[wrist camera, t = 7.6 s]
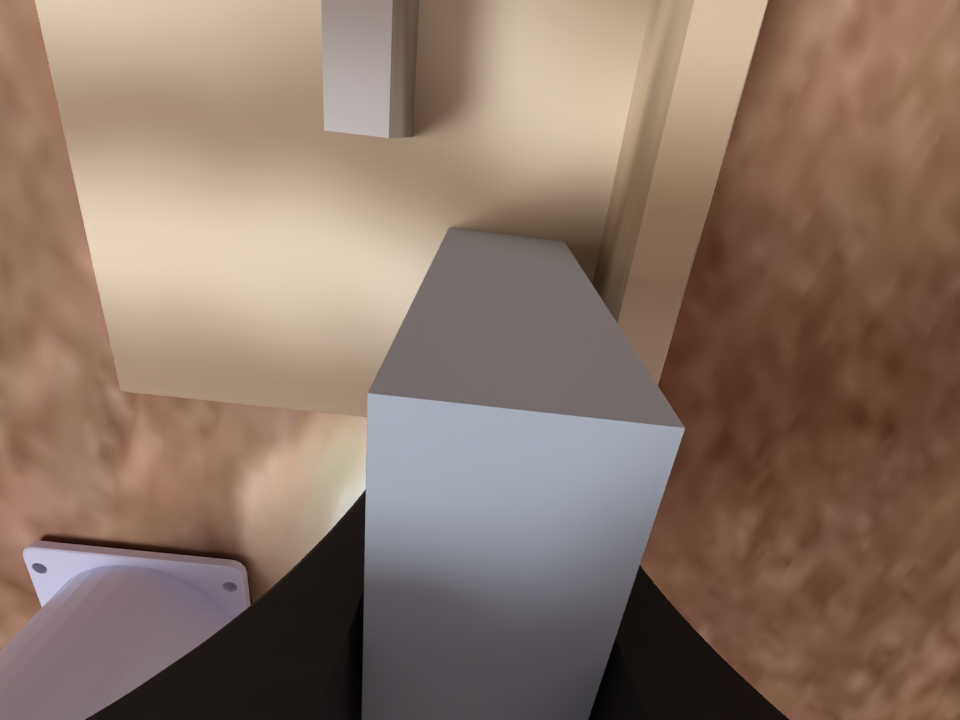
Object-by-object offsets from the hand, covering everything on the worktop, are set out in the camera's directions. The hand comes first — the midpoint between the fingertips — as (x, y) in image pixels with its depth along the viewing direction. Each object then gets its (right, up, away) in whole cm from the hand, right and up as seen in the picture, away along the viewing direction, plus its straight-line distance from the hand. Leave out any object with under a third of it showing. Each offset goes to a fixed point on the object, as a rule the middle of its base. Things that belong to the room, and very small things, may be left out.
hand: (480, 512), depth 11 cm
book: (0, +2, +4) cm, 5 cm away
